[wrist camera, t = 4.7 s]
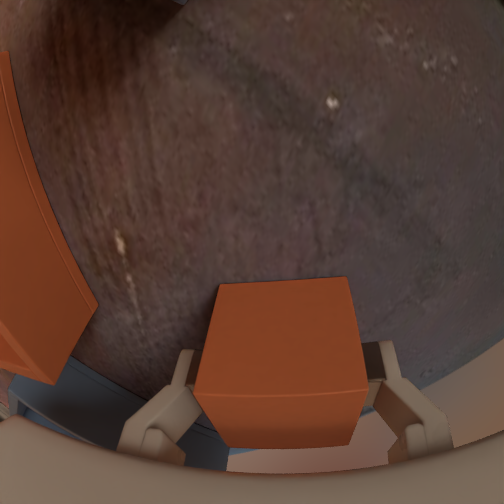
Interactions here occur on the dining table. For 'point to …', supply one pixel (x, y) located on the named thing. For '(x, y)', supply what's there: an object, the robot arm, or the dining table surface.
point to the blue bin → (101, 413)
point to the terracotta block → (283, 365)
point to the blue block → (181, 1)
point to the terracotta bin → (33, 260)
